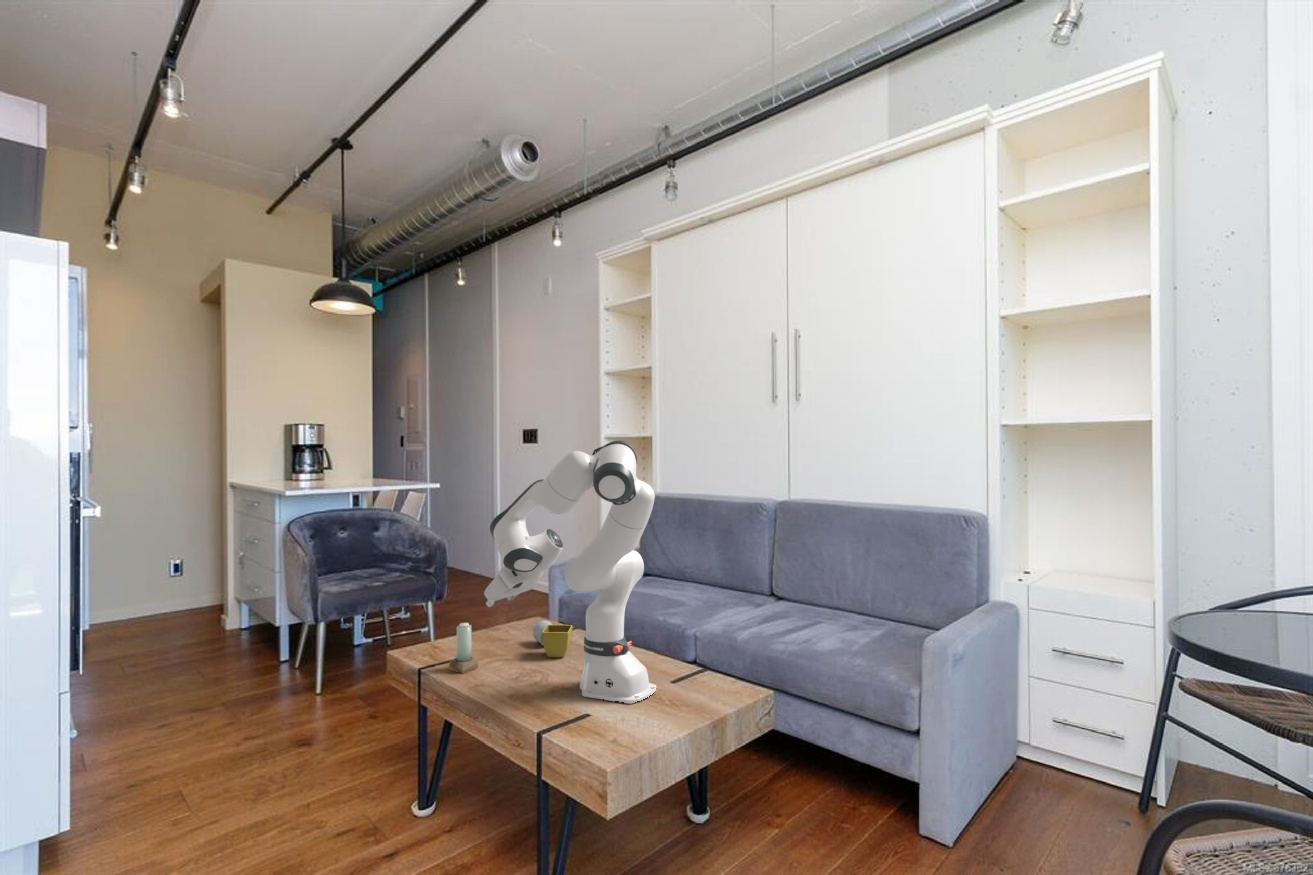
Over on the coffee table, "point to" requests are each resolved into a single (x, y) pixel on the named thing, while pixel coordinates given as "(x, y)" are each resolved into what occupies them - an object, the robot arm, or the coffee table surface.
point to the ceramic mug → (540, 630)
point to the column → (463, 642)
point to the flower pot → (556, 639)
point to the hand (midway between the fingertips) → (498, 601)
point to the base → (463, 665)
